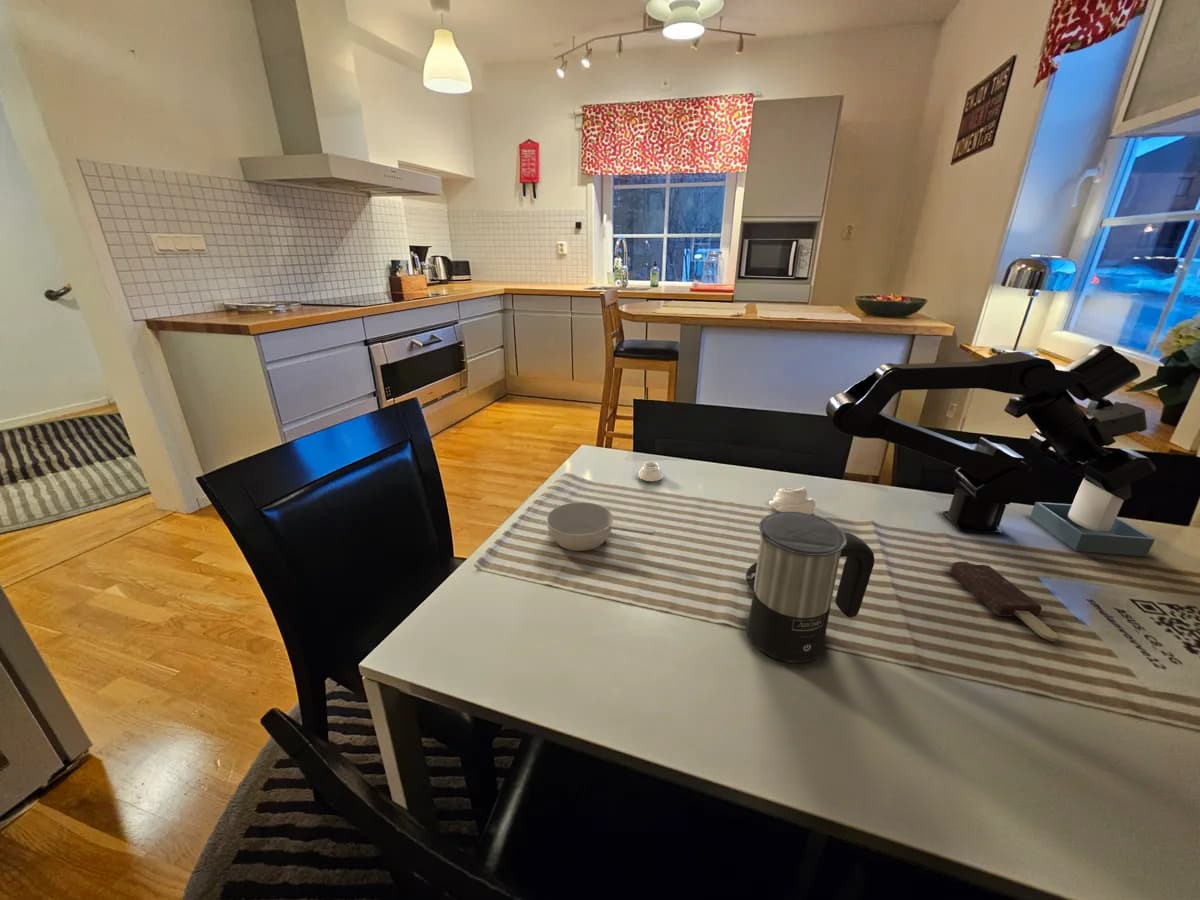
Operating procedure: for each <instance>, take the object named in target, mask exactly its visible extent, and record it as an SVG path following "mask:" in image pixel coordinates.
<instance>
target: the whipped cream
mask: <svg viewBox="0 0 1200 900" xmlns="http://www.w3.org/2000/svg"><path fill="white" fill-rule="evenodd" d="M768 504H769V505H770V506H771V507H773V508H774V509H775V511H776V510H777V511H778V512H801V513H805V514H810V515H814V512H815V510H816V507H817V505H816V501H815V499H814V498H813V497H808V493H807V489H806V488H805V487H804V486H803V487H800V488H788V487H780V488H779V489H778V490H777V491H776V493H775V495H774V497H772V500H769V501H768Z"/></svg>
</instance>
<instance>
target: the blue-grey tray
mask: <svg viewBox="0 0 1200 900" xmlns="http://www.w3.org/2000/svg"><path fill="white" fill-rule="evenodd" d="M1072 504H1073V503H1071V504H1070V503H1057V502H1056V503H1055V502H1043V501H1035V503H1034V505H1033V507H1032V510H1031V513H1030V515H1029V518H1030V519H1031V520H1033V521H1034V522H1036V524H1038V525H1040V527H1042V528H1043V529H1045V530H1046V531H1048V532H1049V533H1051V534H1052V535H1053V536H1055V537H1056V539H1058V540H1060V541H1061V542H1062V543H1064V544H1066V546H1068V547H1069V548H1071V549H1072V550H1074V551H1076V552H1088V553H1100V554H1110V555H1113V554H1114V555H1123V556H1135V557H1137V556H1138V557H1148V555H1149V553H1150V551H1151V549H1152V546H1153V545H1154V542H1155V541H1156V539H1155V538H1153V537H1151V536H1150V535H1148V534H1147V533H1146V532H1143V531H1141V530H1140V529H1138V528H1137V527H1135V526H1133V525H1131V524H1130V523H1128V522H1126V521H1125V520H1123V519H1121V518H1120V517H1118V516H1117V517H1116V519H1115V521H1114V523H1113V525H1112V527H1111V529H1110V531H1109V532H1095V531H1092V530H1089V529H1087V528H1084V527H1082V526H1080V525H1078V524H1076V523H1075V522H1073V521H1072V520H1071V519H1069V517H1068V513H1069V511H1070V508H1071V506H1072Z"/></svg>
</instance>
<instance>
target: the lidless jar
mask: <svg viewBox="0 0 1200 900" xmlns="http://www.w3.org/2000/svg"><path fill="white" fill-rule="evenodd" d="M663 477H664V476H663V472H662V469H661V468H660V466H659V463H657V462H654V461H646V462H645V463H643V466H641V468H640V470H639V471H638V478H640V479H641V480H643V481H646V482H656V481H660V480H662V479H663Z"/></svg>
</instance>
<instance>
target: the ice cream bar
mask: <svg viewBox="0 0 1200 900" xmlns="http://www.w3.org/2000/svg"><path fill="white" fill-rule="evenodd" d="M949 571H950V575H951V576H952V577H953V578H954V580H956V581H958V582H959V583H960V584H961V585H962V586H963V587H964V588H965V589H966V590H967V591H969V593H971V594H972V595H973V596H974V597H976V598H977V600H979V601H980V602H981V603H983V604H984V605H985V606H986V607H987V608H988V609H989V610H990V611H992V613H994V614H995V615H996V616H998V617H1015V616H1016V617H1017V618H1018V619H1020V620H1021V621H1022V622H1023V623H1024V624H1025V625H1027V626H1028V627H1029V628H1030V629H1032V631H1034V632H1035V633H1036V634H1037V635H1039V636H1040V637H1041V638H1043V639H1044V640H1046V641H1051V642H1055V641H1056V640H1057V639H1058V634H1057V633H1056V632H1055V631H1053V629H1052V628H1050V627H1049V626H1047V625H1046V624H1045V623H1044V622H1043V621H1042V620H1040V619H1039V618H1038V617H1039V616H1040V615H1041V612H1042V609H1043V607H1042V606H1041V604H1039V603H1038V602H1037V601H1036V600H1034V599H1033V598H1031V597H1030V596H1029V595H1028V594H1026V593H1025V592H1024V591H1022V590H1021V589H1020V588H1019V587H1017V586H1016V585H1015V584H1013V583H1012V582H1011V581H1009V580H1008V579H1007V578H1006V577H1005V576H1003V575H1002V574H1001V573H999V572H998V571H996V570H995V569H994V568H993V567H991V566H990V565H987V564H974V563H971V562H968V561H955V562H953V563H952V564H951V567H950V570H949ZM1036 616H1038V617H1036Z"/></svg>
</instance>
